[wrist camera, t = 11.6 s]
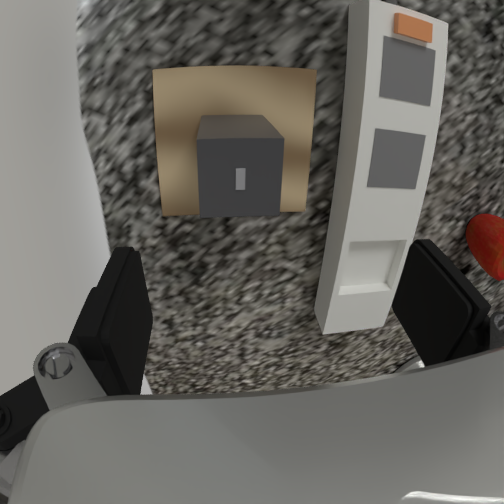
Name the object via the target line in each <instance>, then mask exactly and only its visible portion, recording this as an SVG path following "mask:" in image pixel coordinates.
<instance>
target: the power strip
mask: <svg viewBox="0 0 504 504" xmlns="http://www.w3.org/2000/svg"><path fill="white" fill-rule="evenodd" d="M447 42H448V23H446V22H443V21H441V20H438V19H435V18H433V17H430V16H427V15H424V14H422V13H419V12H416V11H413V10H410V9H407V8H404V7H400V6H397V0H385V2H383V1H379V0H361V1H358V2H355V3H352V4H349V14H348V39H347V58H346V73H345V87H344V99H343V111H342V121H341V131H340V141H339V150H338V158H337V167H336V175H335V182H334V190H333V197H332V205H331V211H330V218H329V225H328V231H327V238H326V244H325V250H324V256H323V262H322V268H321V273H320V279H319V285H318V290H317V295H316V301H315V306H314V312H315V315H316V317H317V320H318V323H319V326H320V328H321V331H322V334H331V333H339V332H347V331H355V330H362V329H369V328H376V327H383V325H384V323H385V320H386V318H387V315H388V312H389V310H390V307H391V304H392V302H393V298H394V295H395V292H396V289H397V286H398V283H399V280H400V277H401V274H402V270H403V267H404V264H405V260H406V257H407V253H408V250H409V247H410V245H411V244H412V241H413V237H414V234H415V230H416V227H417V223H418V219H419V216H420V212H421V208H422V204H423V200H424V196H425V192H426V187H427V183H428V179H429V174H430V169H431V164H432V160H433V154H434V149H435V144H436V138H437V132H438V126H439V120H440V113H441V106H442V98H443V90H444V81H445V70H446V58H447Z"/></svg>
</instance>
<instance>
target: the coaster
mask: <svg viewBox="0 0 504 504" xmlns="http://www.w3.org/2000/svg"><path fill="white" fill-rule="evenodd" d="M316 74H317V70H314V69H303V68H290V67H272V66H197V67H180V68H167V69H156V70H153V97H154V118H155V134H156V149H157V162H158V173H159V184H160V194H161V204H162V213H163V216H177V215H198V214H200V211H199V191H198V168H197V135H198V130H199V125H200V121H201V116H202V115H263V116H264V117H265V118H266V119H267V120H268V121H269V122H270V123H271V124H272V125H273V126H274V128H275V129H276V130H277V131H278V132H279V133H280V134H281V135H282V136H283V137H284V138H285V140H284V156H283V172H282V188H281V202H280V212H300V211H305V207H306V198H307V188H308V178H309V167H310V156H311V144H312V132H313V119H314V106H315V91H316Z"/></svg>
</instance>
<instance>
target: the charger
mask: <svg viewBox="0 0 504 504" xmlns="http://www.w3.org/2000/svg"><path fill="white" fill-rule="evenodd" d="M284 140H285V138H284V137H283V136H282V135H281V134H280V133H279V132H278V131H277V130H276V129H275V128H274V126H273V125H272V124H271V123H270V122H269V121H268V120H267V119H266V118H265V117H264V116H263V115H202V116H201V121H200V125H199V130H198V135H197V168H198V191H199V211H200V218H213V217H242V216H279V215H280V202H281V188H282V172H283V156H284Z"/></svg>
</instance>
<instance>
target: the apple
mask: <svg viewBox="0 0 504 504" xmlns="http://www.w3.org/2000/svg"><path fill="white" fill-rule="evenodd" d="M466 240H467V243H468V246H469V249H470V250H471V252H472V254H473V256H474V257H475V259H476V260H477V261H478V263H479V264H480V266H481V267H482V268H483V269H484V270H485V271H486V272H487V273H488V274H489V275H490V276H491V277H493V278H495V279H497V280H498V281H500V280H504V219H502V218H500V217H498V216H494V215H491V214H480V215H476V216H475V217H473V218H472V219H471V220H470V222H469V224H468V225H467V229H466Z"/></svg>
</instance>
